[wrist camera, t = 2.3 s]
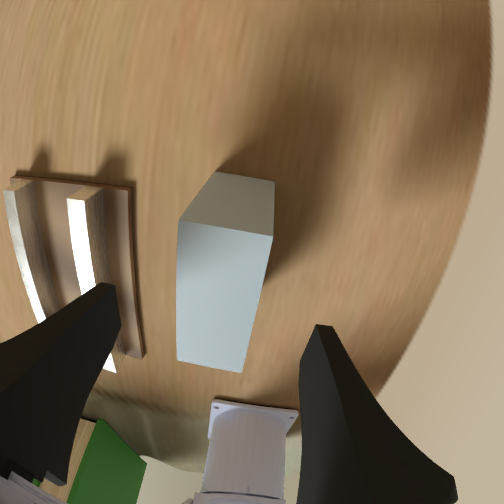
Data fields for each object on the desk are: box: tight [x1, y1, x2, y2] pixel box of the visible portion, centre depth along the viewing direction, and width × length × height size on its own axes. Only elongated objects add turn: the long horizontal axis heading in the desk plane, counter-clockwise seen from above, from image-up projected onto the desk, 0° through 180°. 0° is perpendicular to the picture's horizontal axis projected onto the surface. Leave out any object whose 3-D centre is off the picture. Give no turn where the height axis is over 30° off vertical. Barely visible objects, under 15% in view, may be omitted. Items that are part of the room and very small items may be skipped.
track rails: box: [3, 179, 125, 373], centre depth 17 cm, size 14×7×2 cm, turn 171°
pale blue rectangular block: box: [176, 171, 275, 373], centre depth 13 cm, size 7×3×6 cm, turn 171°
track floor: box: [10, 176, 144, 360], centre depth 18 cm, size 14×10×1 cm
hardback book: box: [32, 418, 147, 504], centre depth 26 cm, size 18×7×24 cm, turn 4°
